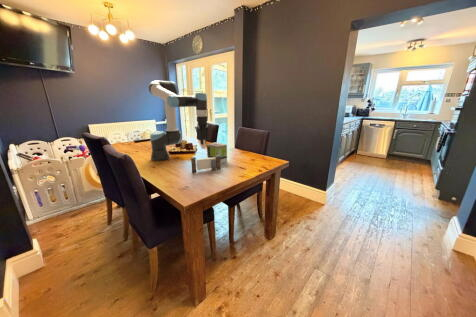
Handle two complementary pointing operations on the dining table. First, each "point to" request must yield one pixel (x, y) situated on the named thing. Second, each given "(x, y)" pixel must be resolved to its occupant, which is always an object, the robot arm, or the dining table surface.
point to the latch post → (218, 162)
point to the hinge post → (193, 164)
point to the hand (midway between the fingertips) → (203, 148)
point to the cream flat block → (204, 163)
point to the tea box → (217, 151)
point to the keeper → (213, 165)
